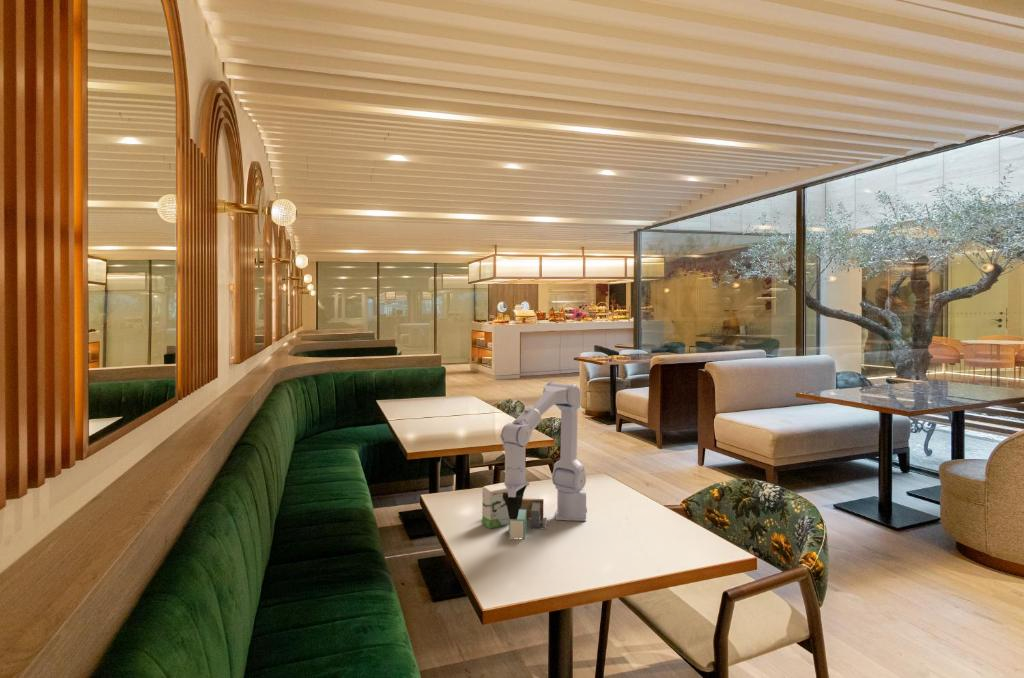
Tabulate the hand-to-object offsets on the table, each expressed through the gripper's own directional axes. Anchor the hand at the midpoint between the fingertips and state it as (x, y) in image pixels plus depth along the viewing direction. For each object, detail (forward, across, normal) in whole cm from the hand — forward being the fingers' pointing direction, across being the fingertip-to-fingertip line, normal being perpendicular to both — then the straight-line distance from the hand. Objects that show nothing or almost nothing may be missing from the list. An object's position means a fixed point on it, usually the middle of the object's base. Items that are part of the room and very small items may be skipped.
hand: (515, 513), depth 164 cm
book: (+10, +9, 0) cm, 13 cm away
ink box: (+10, +16, +8) cm, 20 cm away
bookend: (+9, +17, -4) cm, 20 cm away
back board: (+9, +22, +2) cm, 24 cm away
